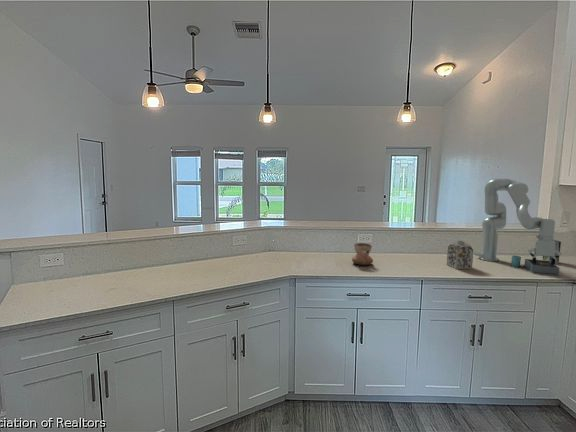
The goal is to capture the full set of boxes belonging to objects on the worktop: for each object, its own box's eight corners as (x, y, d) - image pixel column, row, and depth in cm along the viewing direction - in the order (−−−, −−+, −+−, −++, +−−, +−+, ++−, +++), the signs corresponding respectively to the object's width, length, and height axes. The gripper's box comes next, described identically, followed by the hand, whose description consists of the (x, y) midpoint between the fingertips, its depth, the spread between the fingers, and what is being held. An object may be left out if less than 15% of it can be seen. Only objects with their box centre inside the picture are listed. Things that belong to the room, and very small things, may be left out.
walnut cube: (539, 271, 215) (540, 263, 214) (536, 269, 219) (537, 261, 219) (548, 272, 213) (549, 264, 212) (546, 270, 217) (546, 262, 217)
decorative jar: (446, 264, 234) (447, 239, 232) (461, 264, 235) (463, 239, 233) (456, 269, 222) (458, 243, 220) (472, 269, 223) (474, 242, 221)
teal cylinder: (511, 266, 228) (512, 257, 227) (510, 264, 233) (511, 255, 232) (520, 267, 226) (521, 257, 225) (519, 265, 230) (520, 256, 229)
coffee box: (559, 264, 235) (561, 241, 233) (548, 263, 237) (551, 241, 235) (551, 260, 244) (554, 239, 242) (541, 260, 246) (544, 238, 244)
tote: (558, 275, 209) (559, 267, 208) (531, 272, 214) (532, 265, 214) (548, 268, 225) (549, 260, 225) (524, 265, 231) (525, 258, 230)
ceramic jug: (374, 267, 226) (375, 247, 225) (353, 266, 228) (353, 246, 226) (370, 261, 244) (371, 242, 243) (350, 260, 245) (351, 241, 244)
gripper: (531, 238, 213) (528, 264, 215) (564, 240, 207) (561, 267, 209) (528, 236, 220) (525, 261, 222) (560, 238, 213) (557, 264, 216)
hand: (543, 264), depth 215 cm, fingers open, 9 cm apart
